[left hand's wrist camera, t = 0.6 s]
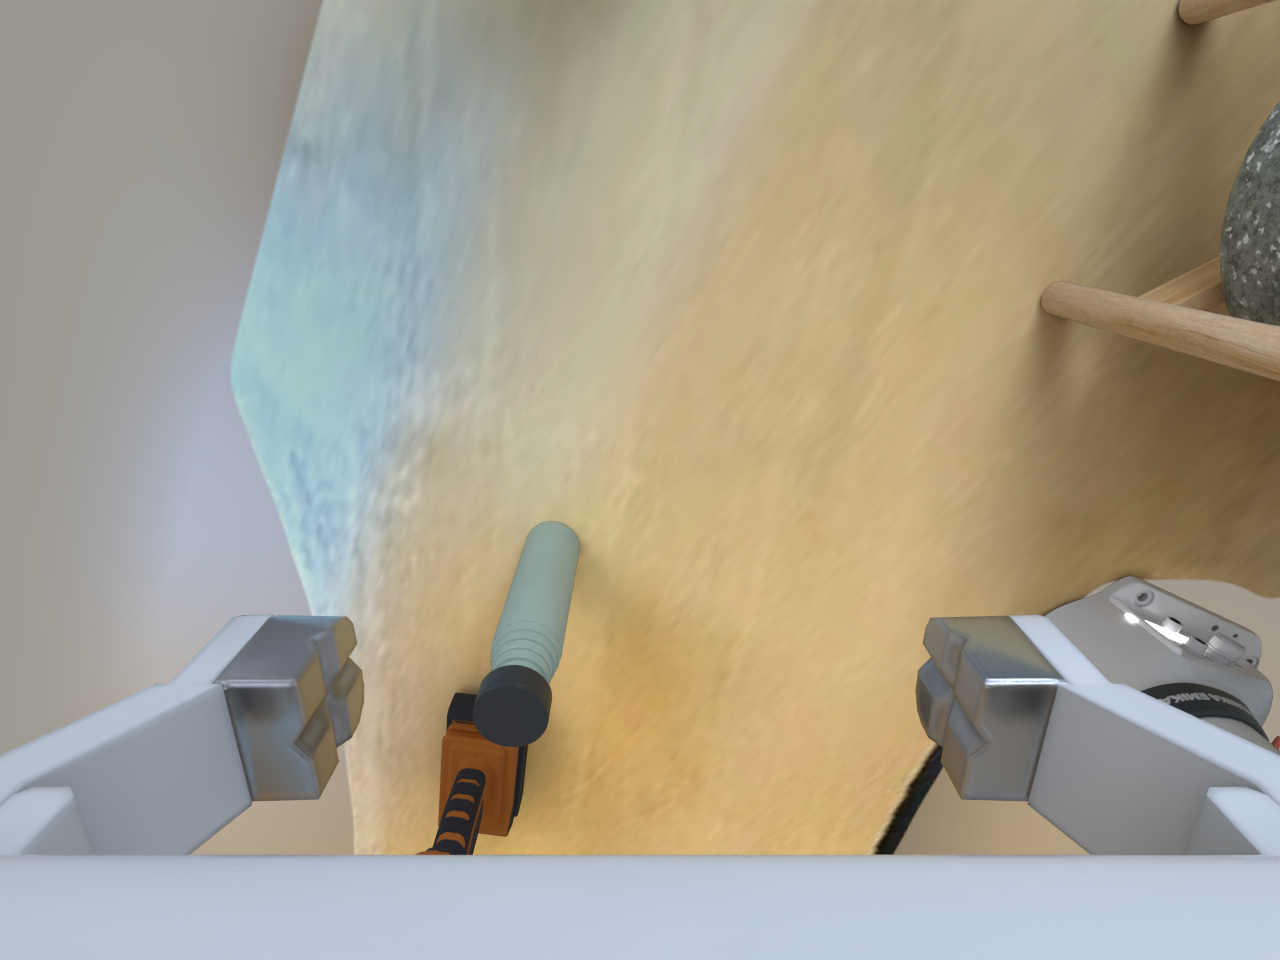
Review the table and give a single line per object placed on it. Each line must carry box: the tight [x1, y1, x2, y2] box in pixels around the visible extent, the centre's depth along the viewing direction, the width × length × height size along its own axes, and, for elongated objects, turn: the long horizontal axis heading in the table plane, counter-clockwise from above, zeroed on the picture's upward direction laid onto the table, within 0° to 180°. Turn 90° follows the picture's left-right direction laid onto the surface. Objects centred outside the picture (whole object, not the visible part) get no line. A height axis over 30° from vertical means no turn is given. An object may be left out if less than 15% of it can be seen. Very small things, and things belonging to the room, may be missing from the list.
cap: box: [472, 665, 552, 747], centre depth 44 cm, size 4×4×2 cm
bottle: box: [491, 522, 580, 684], centre depth 53 cm, size 5×5×22 cm
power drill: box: [415, 693, 528, 855], centre depth 60 cm, size 22×7×25 cm, turn 172°
